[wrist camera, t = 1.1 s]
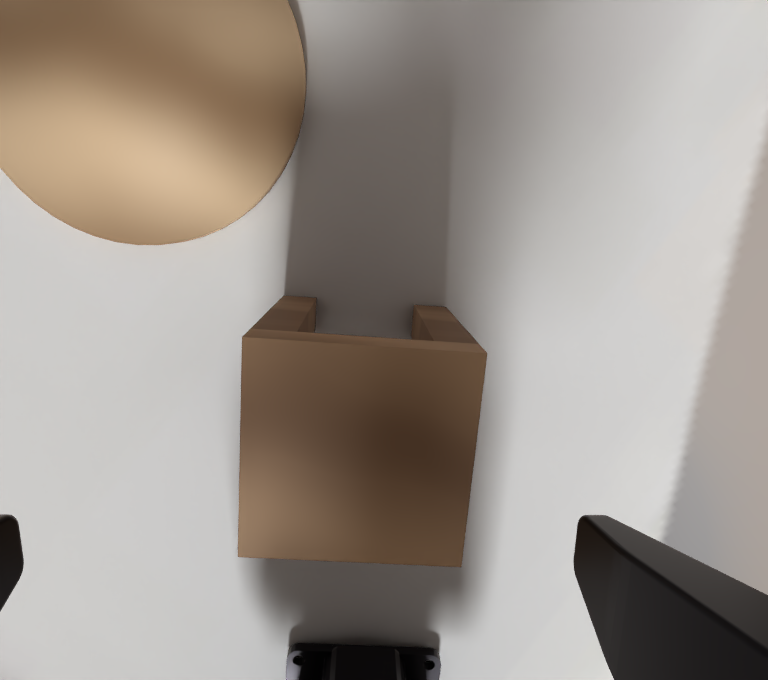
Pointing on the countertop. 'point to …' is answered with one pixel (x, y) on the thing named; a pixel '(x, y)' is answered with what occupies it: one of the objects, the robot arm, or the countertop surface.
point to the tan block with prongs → (357, 439)
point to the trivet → (148, 111)
